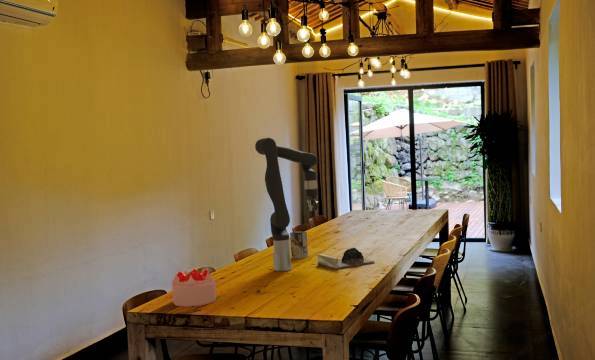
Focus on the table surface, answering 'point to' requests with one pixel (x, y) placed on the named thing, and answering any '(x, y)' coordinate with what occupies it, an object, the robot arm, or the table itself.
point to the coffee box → (299, 244)
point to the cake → (193, 288)
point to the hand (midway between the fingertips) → (313, 217)
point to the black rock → (352, 256)
